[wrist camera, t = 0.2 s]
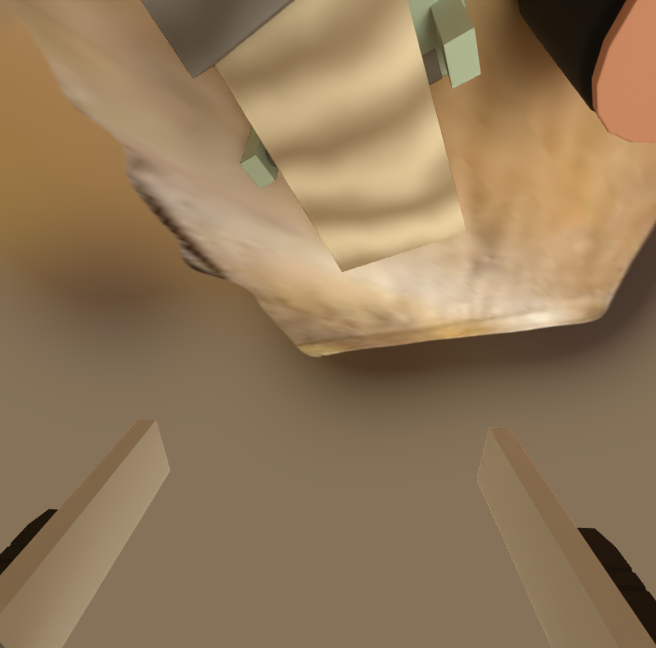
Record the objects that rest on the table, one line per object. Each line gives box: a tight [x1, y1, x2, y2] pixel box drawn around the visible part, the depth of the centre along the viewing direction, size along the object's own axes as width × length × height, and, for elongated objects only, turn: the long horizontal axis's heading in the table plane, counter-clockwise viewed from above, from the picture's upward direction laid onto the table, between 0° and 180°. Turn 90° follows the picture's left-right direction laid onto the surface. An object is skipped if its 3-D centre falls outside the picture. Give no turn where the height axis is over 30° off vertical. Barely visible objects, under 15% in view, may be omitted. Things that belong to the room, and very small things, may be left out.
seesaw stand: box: [240, 0, 481, 189], centre depth 30 cm, size 8×22×10 cm, turn 119°
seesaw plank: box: [141, 0, 466, 272], centre depth 27 cm, size 27×16×7 cm, turn 29°
